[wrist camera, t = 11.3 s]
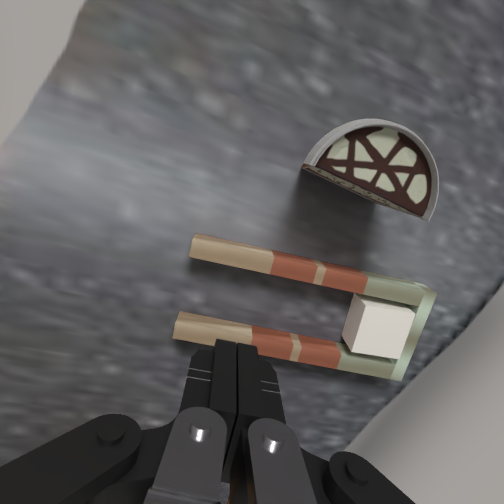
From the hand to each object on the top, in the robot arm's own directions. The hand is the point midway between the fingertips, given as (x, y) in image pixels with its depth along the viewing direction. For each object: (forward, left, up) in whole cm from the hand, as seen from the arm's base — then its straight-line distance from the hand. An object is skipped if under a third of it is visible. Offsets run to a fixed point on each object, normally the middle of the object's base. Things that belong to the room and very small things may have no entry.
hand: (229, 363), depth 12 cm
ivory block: (+8, +20, -27) cm, 34 cm away
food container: (-10, +11, -27) cm, 31 cm away
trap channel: (+8, +10, -27) cm, 30 cm away
